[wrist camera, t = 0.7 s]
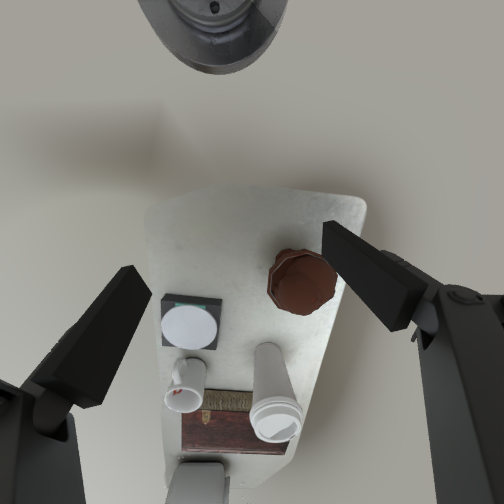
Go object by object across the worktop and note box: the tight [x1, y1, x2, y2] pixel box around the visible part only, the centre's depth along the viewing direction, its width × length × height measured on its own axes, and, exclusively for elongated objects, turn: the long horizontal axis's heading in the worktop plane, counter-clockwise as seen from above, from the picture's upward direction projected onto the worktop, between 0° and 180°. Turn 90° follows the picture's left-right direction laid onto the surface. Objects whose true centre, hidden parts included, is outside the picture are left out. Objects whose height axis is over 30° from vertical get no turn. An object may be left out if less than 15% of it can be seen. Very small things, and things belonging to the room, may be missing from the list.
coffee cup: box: [249, 343, 303, 443], centre depth 37 cm, size 10×10×15 cm
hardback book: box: [182, 390, 290, 455], centre depth 49 cm, size 29×19×5 cm, turn 82°
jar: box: [165, 457, 249, 504], centre depth 53 cm, size 19×15×25 cm
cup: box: [165, 358, 206, 413], centre depth 41 cm, size 11×8×8 cm
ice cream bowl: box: [267, 249, 338, 316], centre depth 29 cm, size 11×11×15 cm
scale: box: [161, 294, 222, 350], centre depth 39 cm, size 12×12×3 cm
